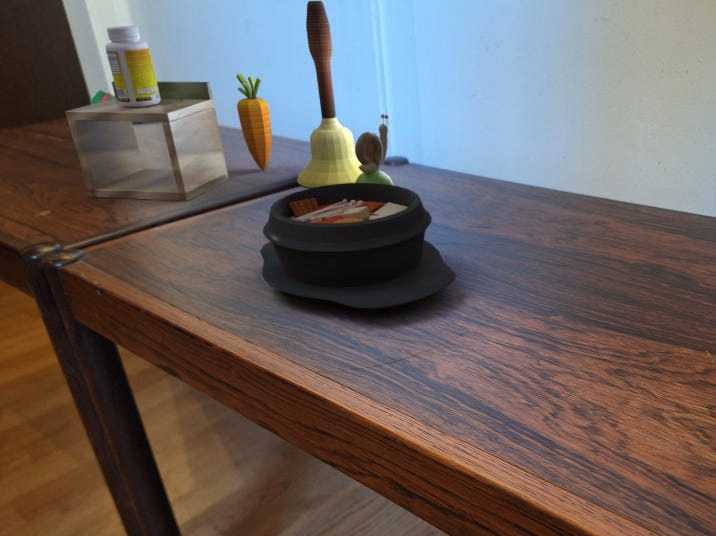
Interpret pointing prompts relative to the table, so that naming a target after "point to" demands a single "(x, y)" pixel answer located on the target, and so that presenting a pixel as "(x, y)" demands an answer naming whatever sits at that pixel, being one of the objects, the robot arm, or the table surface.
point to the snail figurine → (373, 155)
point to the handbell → (327, 114)
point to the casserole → (353, 246)
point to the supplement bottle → (131, 67)
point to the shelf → (121, 153)
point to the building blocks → (102, 97)
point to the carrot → (255, 122)
